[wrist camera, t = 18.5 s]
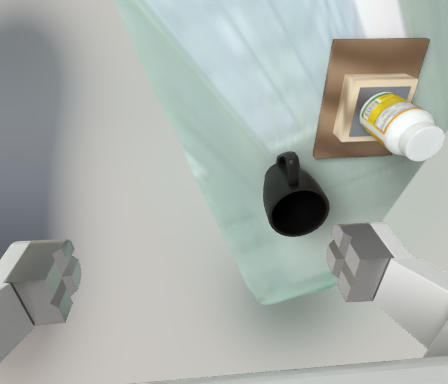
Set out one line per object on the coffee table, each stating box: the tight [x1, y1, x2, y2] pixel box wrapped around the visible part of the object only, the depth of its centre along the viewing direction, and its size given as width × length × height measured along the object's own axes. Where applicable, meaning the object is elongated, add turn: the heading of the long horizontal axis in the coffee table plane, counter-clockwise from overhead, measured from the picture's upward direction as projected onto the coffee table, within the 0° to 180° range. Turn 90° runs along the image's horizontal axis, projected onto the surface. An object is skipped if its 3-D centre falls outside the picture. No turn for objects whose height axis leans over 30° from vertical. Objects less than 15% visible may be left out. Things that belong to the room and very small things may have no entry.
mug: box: [263, 152, 329, 237], centre depth 44 cm, size 8×12×10 cm
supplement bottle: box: [360, 92, 445, 162], centre depth 36 cm, size 5×5×10 cm
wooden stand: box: [313, 38, 430, 158], centre depth 42 cm, size 16×12×4 cm
